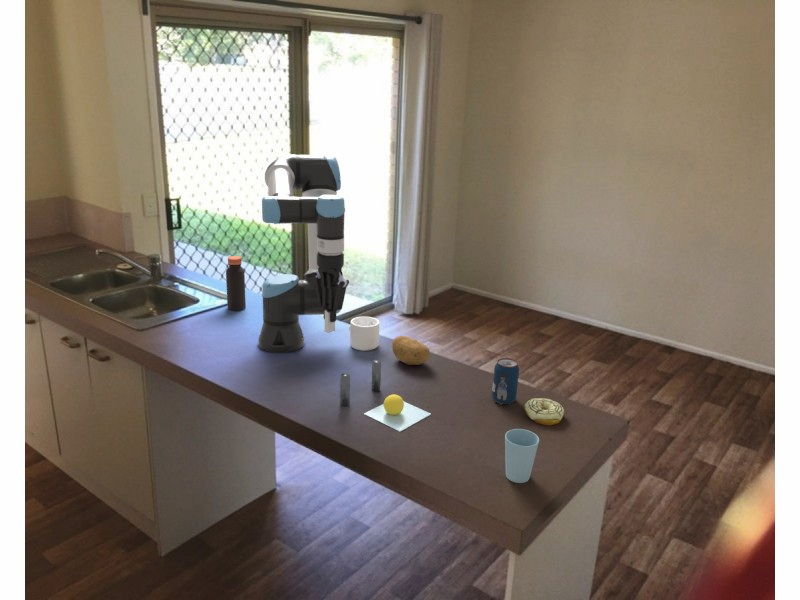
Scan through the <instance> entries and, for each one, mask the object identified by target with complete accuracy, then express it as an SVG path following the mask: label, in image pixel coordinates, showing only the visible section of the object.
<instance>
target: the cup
mask: <svg viewBox="0 0 800 600" xmlns="http://www.w3.org/2000/svg"><path fill="white" fill-rule="evenodd" d="M539 444H540V438H539V436H538V435H537V434H536V433H534V432H533V431H531V430H528V429H523V428H513V429H510V430H508V431H506V433H505V434H504V445H505V446H504V447H505V448H504V449H505V453H504V454H505V455H504V456H505V457H504V458H505V459H504V461H505V476H506V478H507V479H508V480H509V481H511V482H513V483H516V484H524V483H526V482H528V481H529V480H530V478H531V473H532V471H533V466H534V462H535V459H536V455H537V450H538V447H539Z"/></svg>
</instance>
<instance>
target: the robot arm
mask: <svg viewBox="0 0 800 600" xmlns="http://www.w3.org/2000/svg"><path fill="white" fill-rule="evenodd" d="M264 182H265V184H266V186H267V190H268V191H267V192H268V196H263V197H262V199H261V211H262V212H261V216H262V219H261V220H262V221H263V223H265V224H273V225H278V224H283V225H284V224H307V247H308V270H307V271H306V272H305V273H304V279H300V278H299V276H298V275H296V274H291V273H286V274H285V273H282V274H277V275H273V276H271V277H268V278H267V279H266V280H264V282H263V283H262V291H261V292H262V293H261V297H262V321H263V322H262V326H261V330H260V333H259V335H258V341H257V343H258V347H259V349H261V350H262V351H265V352H269V353H276V354H279V353H282V354H283V353H291V352H296V351H297V350H301V348H303V347H304V345H305V336H304V334H303V333H304V332H303V330H302V328H301V325H300V321H299V320H300V316H312V315H313V316H314V315H315V316H317V315H318V316H319V315H322V316H323V320H324V332H325V333H326V334H330V333H332V332H335V331H336V322H337V314H339V313H340V312H341V311H342V309H343V306H344V301H345V295H346V292H347V288H348V286H349V283H350V281H349V279H346V278H345V277H344V276H343V275H344V274H343V273H344V272H343V271H342V270H343V269H342V268H343V266H344V265H345V253H344V251H345V213H346V207H345V206H346V205H345V199H344V197H343V196H341V195H337V193H338V191H340V190H341V189H342V188H341V187H342V186H341V185H342V181H341V170H340V167H339V163H338V159H337V158H336V157H335V156H334V155H325V154H287V155H286V154H285V155H284V156H280V157H278V158H277V159H275V160H273V161H272V162H271V163H270V164H269V165H268V166H267V168H266V170H265V173H264ZM295 190H296V191H300V190H301V196H295V193H294V191H295Z"/></svg>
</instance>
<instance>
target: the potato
mask: <svg viewBox="0 0 800 600" xmlns="http://www.w3.org/2000/svg"><path fill="white" fill-rule="evenodd" d="M391 344H392V346H391V347H392V352H393V354H394V356H395V358H396V359H397V360H399V361H401V362H402V363H404V364H406V365H409V366H417V365H418V366H420V365H422V364H424V363H425V362H428V360H430V357H431V352H430V349H429V347H428V346H427V345H426V344H424V343H422V342H420V341H418V340H417V339H414V338H412V337H410V336H406V335H400V336H396V337H395V338H394V339H392V343H391Z"/></svg>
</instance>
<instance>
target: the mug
mask: <svg viewBox="0 0 800 600" xmlns="http://www.w3.org/2000/svg"><path fill="white" fill-rule="evenodd" d="M380 324H381V323H380V321H379V319H378V318H375V317H371V316H357V317H354V318H352V319H351V320H350V325H349V327H348V330H349V341H350V342H349V343H350V344H349V345H350V346H351V347H352V348H353V349H355V350H358V351H363V352H365V351H366V352H367V351H372V350H375V349H376V348H377V347H379V344H380Z"/></svg>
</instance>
